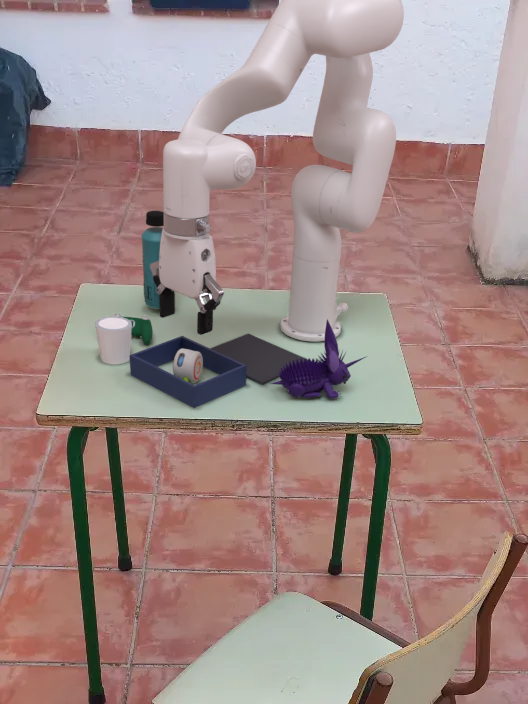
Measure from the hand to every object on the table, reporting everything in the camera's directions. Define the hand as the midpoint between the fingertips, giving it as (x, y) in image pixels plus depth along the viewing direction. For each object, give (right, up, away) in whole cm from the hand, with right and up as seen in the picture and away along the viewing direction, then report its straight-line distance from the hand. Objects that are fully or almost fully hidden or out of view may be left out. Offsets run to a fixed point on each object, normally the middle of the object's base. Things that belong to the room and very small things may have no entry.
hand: (185, 324), depth 159 cm
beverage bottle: (-9, +13, +32) cm, 35 cm away
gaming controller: (-13, +3, +20) cm, 24 cm away
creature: (+24, -11, +7) cm, 27 cm away
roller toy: (0, -8, +7) cm, 11 cm away
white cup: (-15, -3, +13) cm, 20 cm away
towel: (+12, -2, +16) cm, 20 cm away
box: (0, -8, +7) cm, 11 cm away
